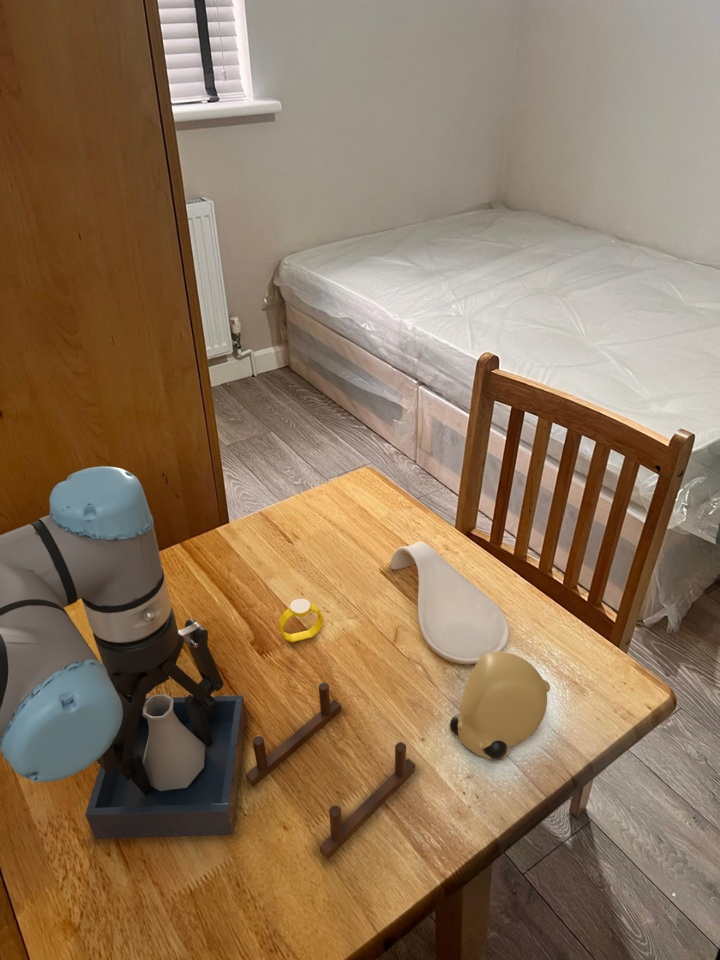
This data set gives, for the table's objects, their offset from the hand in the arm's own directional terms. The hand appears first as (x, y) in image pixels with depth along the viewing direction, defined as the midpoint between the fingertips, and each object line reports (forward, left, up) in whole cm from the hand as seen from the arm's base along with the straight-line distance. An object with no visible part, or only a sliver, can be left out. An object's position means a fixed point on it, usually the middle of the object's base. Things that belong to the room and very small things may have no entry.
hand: (173, 761), depth 82 cm
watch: (+24, +5, -3) cm, 25 cm away
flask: (0, 0, 0) cm, 0 cm away
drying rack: (+12, -13, -2) cm, 18 cm away
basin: (0, 0, -2) cm, 2 cm away
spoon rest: (+40, -6, -3) cm, 41 cm away
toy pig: (+30, -23, -3) cm, 38 cm away
